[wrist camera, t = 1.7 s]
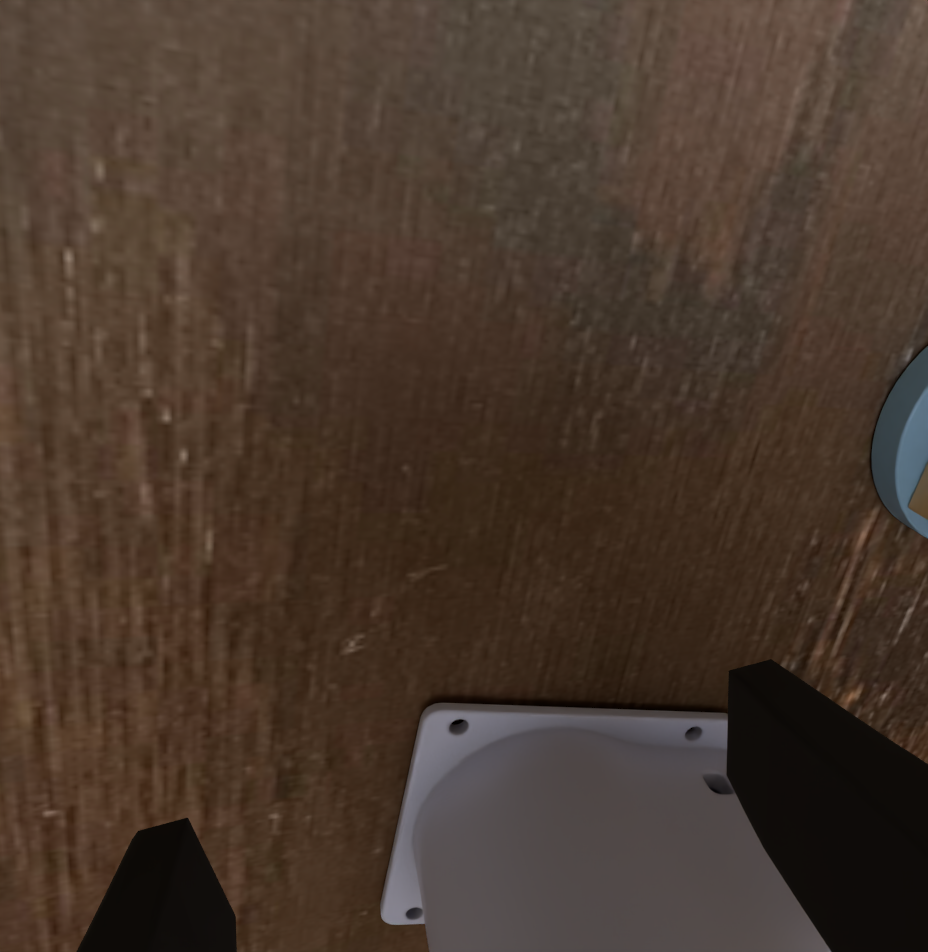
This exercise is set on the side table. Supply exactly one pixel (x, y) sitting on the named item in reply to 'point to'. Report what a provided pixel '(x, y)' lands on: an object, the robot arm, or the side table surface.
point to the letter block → (921, 496)
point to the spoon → (903, 443)
